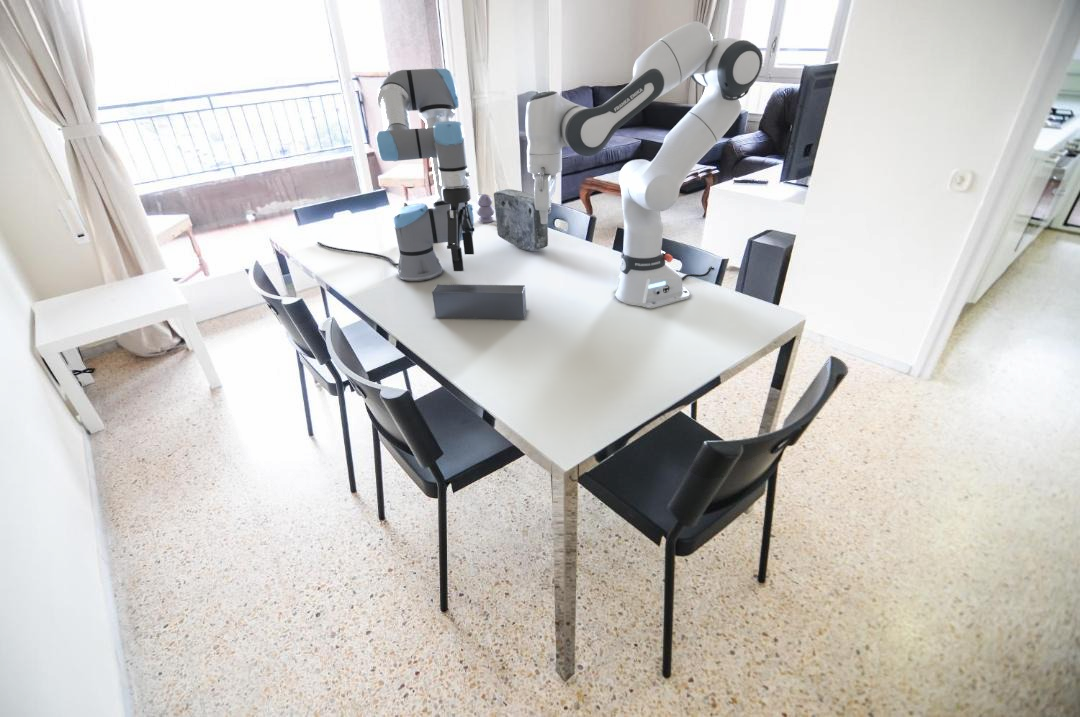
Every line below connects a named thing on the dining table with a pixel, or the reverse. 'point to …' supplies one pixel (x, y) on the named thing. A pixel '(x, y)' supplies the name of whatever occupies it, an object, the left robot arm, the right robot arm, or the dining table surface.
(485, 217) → the purple stacked rounded piece
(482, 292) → the bar
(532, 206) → the concrete block
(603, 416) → the dining table surface
